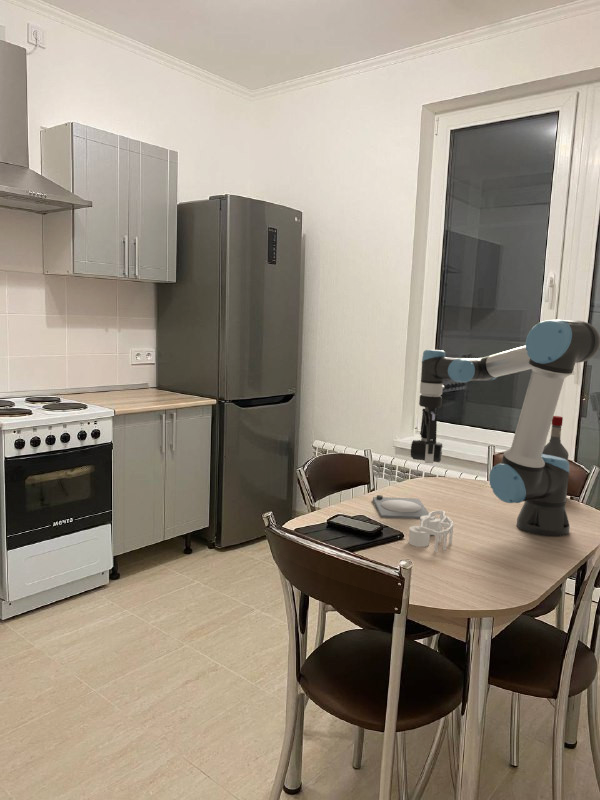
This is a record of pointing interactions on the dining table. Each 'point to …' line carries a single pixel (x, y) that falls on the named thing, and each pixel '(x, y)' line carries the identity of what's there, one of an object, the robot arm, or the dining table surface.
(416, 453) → the end cap
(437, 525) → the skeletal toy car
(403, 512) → the plate
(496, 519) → the dining table surface
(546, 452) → the liquor
